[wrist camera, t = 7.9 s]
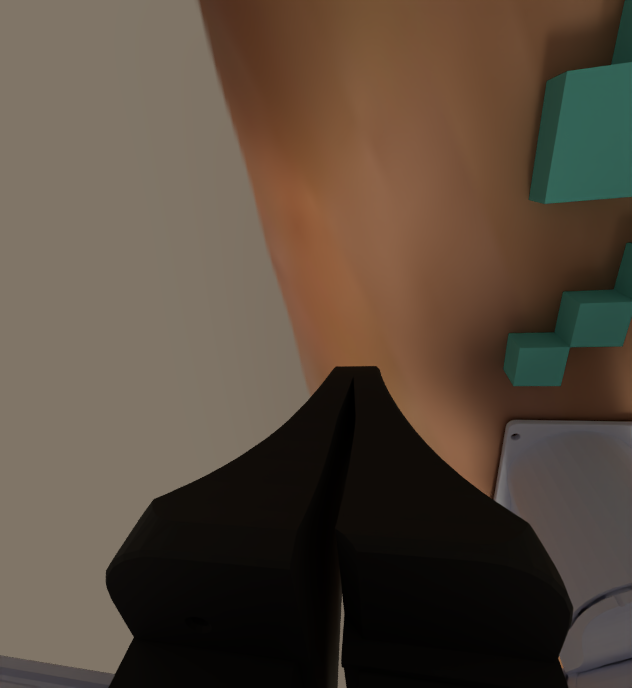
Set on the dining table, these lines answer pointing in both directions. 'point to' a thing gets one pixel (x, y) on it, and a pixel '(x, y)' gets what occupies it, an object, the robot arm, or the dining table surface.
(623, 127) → the alien figure
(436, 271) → the dining table surface
